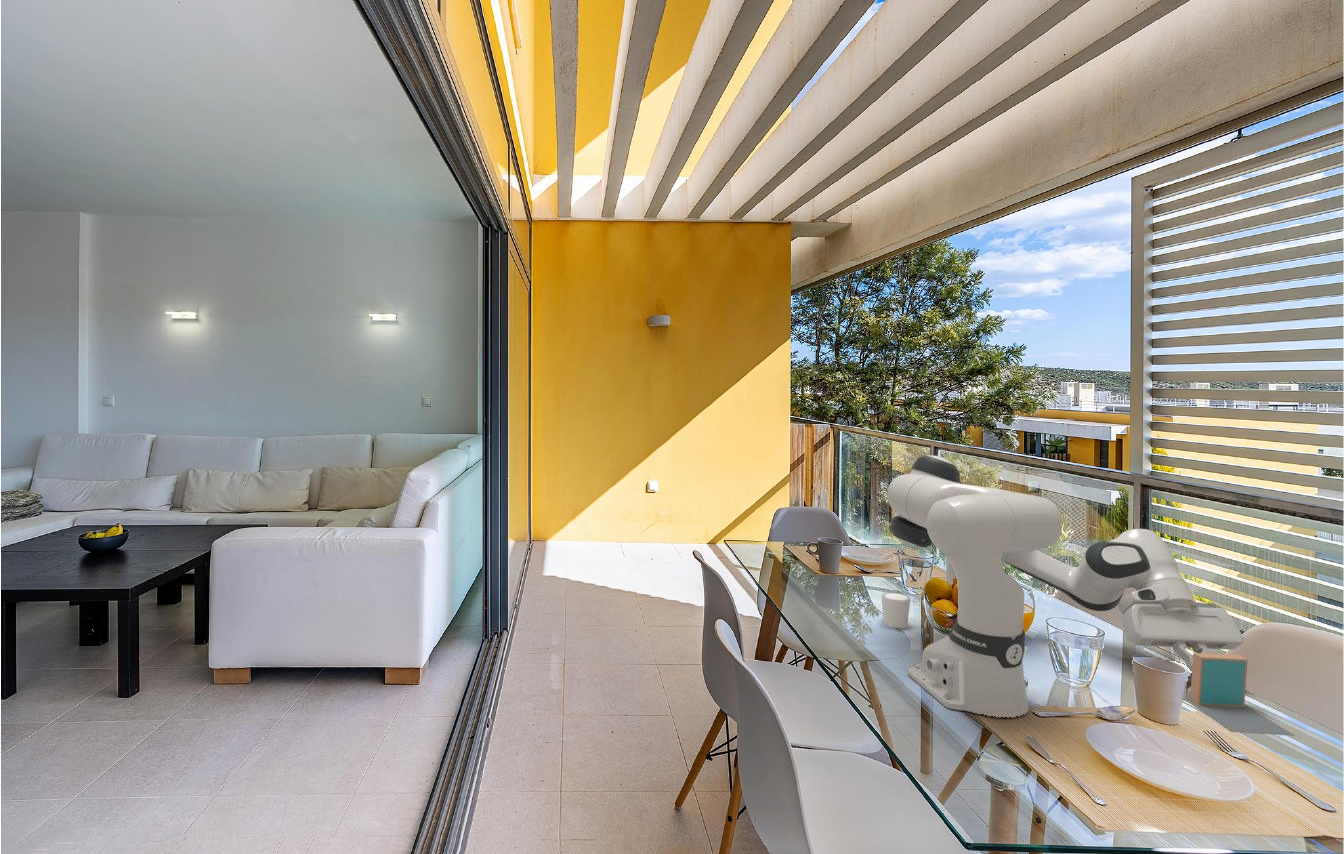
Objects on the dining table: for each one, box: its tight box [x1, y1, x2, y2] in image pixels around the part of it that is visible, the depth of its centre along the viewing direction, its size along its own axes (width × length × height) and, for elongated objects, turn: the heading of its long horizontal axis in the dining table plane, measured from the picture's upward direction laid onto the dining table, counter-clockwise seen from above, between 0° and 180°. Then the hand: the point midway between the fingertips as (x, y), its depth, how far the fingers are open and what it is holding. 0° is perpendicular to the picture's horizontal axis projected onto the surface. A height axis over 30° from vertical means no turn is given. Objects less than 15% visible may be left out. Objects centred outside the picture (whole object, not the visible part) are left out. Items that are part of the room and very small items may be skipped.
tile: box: [1190, 652, 1249, 707], centre depth 121 cm, size 2×8×9 cm, turn 85°
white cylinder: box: [881, 592, 912, 629], centre depth 161 cm, size 7×7×7 cm
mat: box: [1183, 692, 1294, 736], centre depth 118 cm, size 14×10×1 cm
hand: (1198, 667), depth 126 cm, fingers closed
